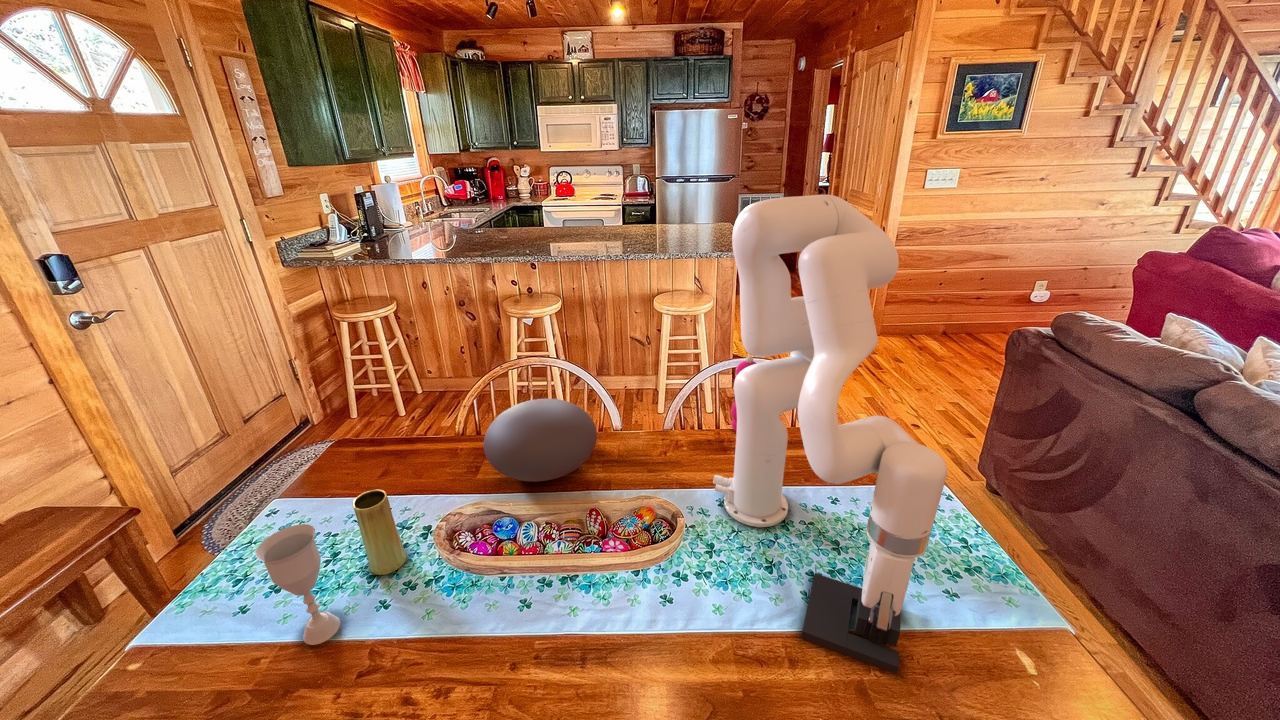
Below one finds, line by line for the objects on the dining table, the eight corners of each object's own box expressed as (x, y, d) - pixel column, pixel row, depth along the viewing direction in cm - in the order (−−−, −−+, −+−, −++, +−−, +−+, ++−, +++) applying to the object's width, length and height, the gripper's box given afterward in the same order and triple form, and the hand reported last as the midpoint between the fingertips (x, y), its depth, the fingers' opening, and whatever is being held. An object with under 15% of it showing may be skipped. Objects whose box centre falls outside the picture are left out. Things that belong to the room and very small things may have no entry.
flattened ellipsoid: (512, 433, 130) (504, 381, 123) (608, 438, 126) (605, 385, 120) (469, 496, 107) (457, 436, 101) (584, 505, 104) (579, 444, 98)
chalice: (309, 659, 75) (269, 569, 67) (285, 637, 78) (245, 549, 70) (357, 621, 80) (325, 534, 73) (333, 603, 84) (300, 518, 76)
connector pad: (854, 632, 75) (857, 617, 74) (857, 603, 80) (860, 588, 78) (896, 647, 73) (900, 631, 72) (897, 616, 77) (900, 601, 76)
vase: (414, 555, 93) (397, 493, 87) (386, 580, 88) (366, 515, 82) (390, 545, 95) (372, 484, 89) (362, 569, 90) (340, 505, 84)
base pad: (800, 638, 76) (802, 631, 76) (813, 579, 86) (814, 572, 85) (896, 674, 71) (898, 667, 70) (898, 607, 81) (900, 600, 80)
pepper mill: (758, 436, 126) (765, 363, 117) (729, 433, 127) (733, 361, 119) (758, 421, 132) (764, 351, 124) (730, 419, 134) (734, 349, 125)
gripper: (871, 485, 77) (854, 573, 85) (863, 565, 63) (842, 661, 71) (927, 498, 74) (904, 588, 82) (931, 585, 60) (902, 684, 68)
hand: (875, 621), depth 76 cm, fingers closed on connector pad, 5 cm apart
